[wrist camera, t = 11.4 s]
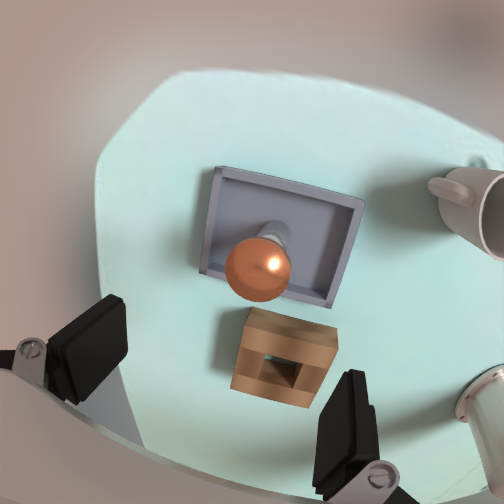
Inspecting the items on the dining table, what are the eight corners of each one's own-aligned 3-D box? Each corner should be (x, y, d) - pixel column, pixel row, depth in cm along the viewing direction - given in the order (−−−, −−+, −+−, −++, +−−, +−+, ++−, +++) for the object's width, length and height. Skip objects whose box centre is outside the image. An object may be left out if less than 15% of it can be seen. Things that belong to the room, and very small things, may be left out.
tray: (361, 199, 26) (365, 202, 24) (330, 298, 30) (331, 309, 28) (223, 165, 28) (215, 166, 26) (206, 264, 32) (198, 273, 29)
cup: (476, 241, 24) (519, 270, 16) (405, 213, 25) (439, 236, 17) (493, 180, 22) (542, 192, 13) (423, 145, 23) (464, 142, 15)
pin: (303, 219, 27) (297, 250, 18) (292, 261, 29) (281, 309, 19) (259, 208, 28) (231, 233, 19) (250, 249, 29) (220, 292, 20)
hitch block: (336, 328, 31) (338, 349, 27) (310, 386, 34) (308, 408, 31) (252, 306, 32) (244, 325, 28) (237, 368, 36) (229, 388, 32)
